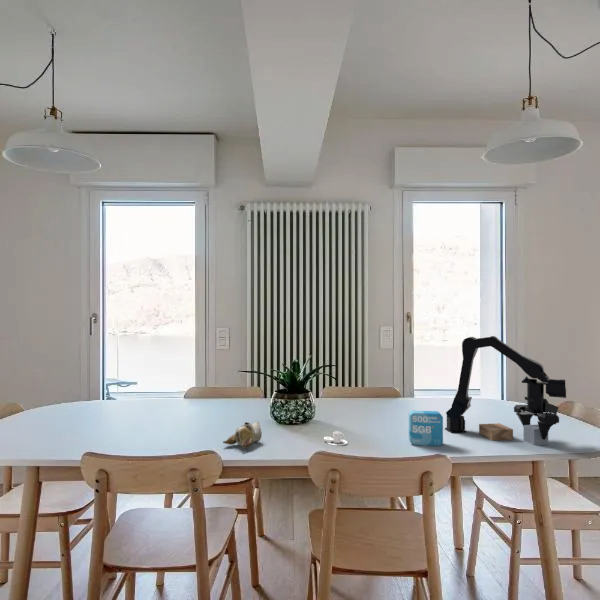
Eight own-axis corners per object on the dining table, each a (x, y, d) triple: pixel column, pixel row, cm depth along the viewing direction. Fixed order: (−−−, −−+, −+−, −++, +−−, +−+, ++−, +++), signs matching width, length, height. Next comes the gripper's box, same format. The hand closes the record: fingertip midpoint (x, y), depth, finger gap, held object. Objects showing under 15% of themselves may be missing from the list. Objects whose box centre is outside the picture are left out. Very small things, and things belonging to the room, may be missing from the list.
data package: (410, 445, 168) (410, 412, 168) (408, 441, 172) (408, 410, 172) (443, 446, 166) (443, 413, 166) (440, 442, 171) (440, 411, 171)
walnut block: (491, 440, 174) (491, 430, 174) (479, 433, 183) (479, 424, 183) (513, 439, 175) (512, 429, 175) (499, 433, 184) (499, 423, 184)
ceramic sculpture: (268, 419, 170) (242, 430, 157) (269, 441, 170) (244, 454, 158) (247, 415, 176) (220, 426, 163) (248, 437, 176) (221, 449, 164)
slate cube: (533, 445, 168) (533, 429, 168) (523, 440, 174) (523, 425, 174) (548, 444, 169) (548, 428, 169) (537, 440, 175) (537, 424, 175)
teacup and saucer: (320, 442, 171) (320, 432, 171) (334, 438, 177) (334, 428, 177) (338, 448, 165) (338, 436, 165) (351, 443, 170) (351, 432, 170)
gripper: (572, 399, 164) (572, 442, 164) (538, 390, 182) (538, 428, 182) (544, 400, 162) (545, 443, 162) (513, 390, 181) (513, 429, 180)
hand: (535, 435), depth 172 cm, fingers open, 9 cm apart
